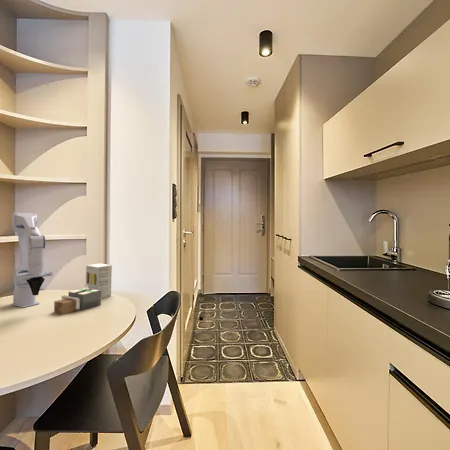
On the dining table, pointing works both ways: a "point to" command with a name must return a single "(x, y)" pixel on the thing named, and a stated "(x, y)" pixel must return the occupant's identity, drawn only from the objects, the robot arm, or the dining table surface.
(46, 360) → the dining table surface
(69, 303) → the walnut block
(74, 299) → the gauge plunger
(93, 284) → the supplement box
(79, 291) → the gauge housing
